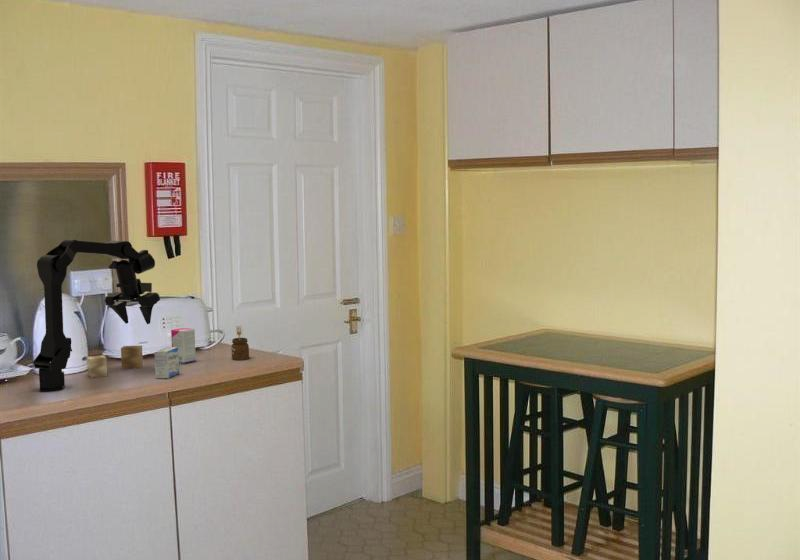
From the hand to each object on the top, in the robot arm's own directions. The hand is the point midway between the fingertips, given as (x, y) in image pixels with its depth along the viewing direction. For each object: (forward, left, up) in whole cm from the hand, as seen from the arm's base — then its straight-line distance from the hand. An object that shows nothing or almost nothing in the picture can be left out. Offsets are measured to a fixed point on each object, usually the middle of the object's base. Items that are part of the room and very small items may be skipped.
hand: (137, 323), depth 285 cm
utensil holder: (+34, +4, -15) cm, 37 cm away
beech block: (-13, -5, -15) cm, 21 cm away
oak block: (-2, +4, -15) cm, 16 cm away
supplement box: (+15, +6, -15) cm, 22 cm away
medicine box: (+8, -15, -15) cm, 23 cm away
